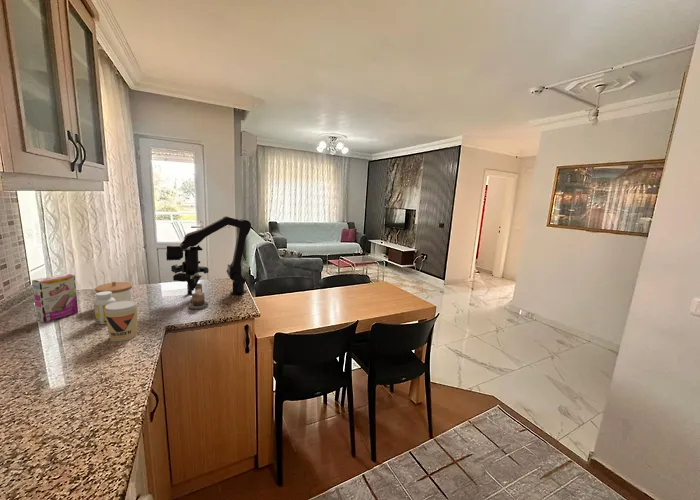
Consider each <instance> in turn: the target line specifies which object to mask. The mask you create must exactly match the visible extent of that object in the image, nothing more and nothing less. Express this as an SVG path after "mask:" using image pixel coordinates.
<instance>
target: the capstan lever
mask: <svg viewBox="0 0 700 500" xmlns="http://www.w3.org/2000/svg"><path fill="white" fill-rule="evenodd" d="M191 296H192V297H191V301H192V302H191V303H192V304H193V305H196V306H197V305H203V304H204V303H205V301H206V299H205V292H203V283H199V282H198V283H197V285H196V287H195V289H194V293H192V295H191Z"/></svg>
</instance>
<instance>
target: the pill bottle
mask: <svg viewBox="0 0 700 500" xmlns="http://www.w3.org/2000/svg"><path fill="white" fill-rule="evenodd" d="M111 296H112V292H111V291H104V292H99V293H97V294H96V293H95V298H96V299H95V300H94V302H93V307H94V308H93V309H94V315H95V317H94V318H95V322H96V323H97V324H99V325H107V321H106V316H105V311H104V308H105V306H106V305H108V304H110V303H113V302H116V300H115V298H113V297H111Z"/></svg>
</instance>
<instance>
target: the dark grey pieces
mask: <svg viewBox="0 0 700 500" xmlns="http://www.w3.org/2000/svg"><path fill="white" fill-rule="evenodd" d="M186 286H187V290H186V291H187V294H188V296H192V294H193V291H191V290H190V288H189V285H188V283H187V285H186ZM208 307H209V302H208V301H206V300H205V303H204V304H203V305H197V306H196V305H193V304H192V302H190V303H189V304H188V309H189V310H192V311H199V310H204V309H207V308H208Z"/></svg>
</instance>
